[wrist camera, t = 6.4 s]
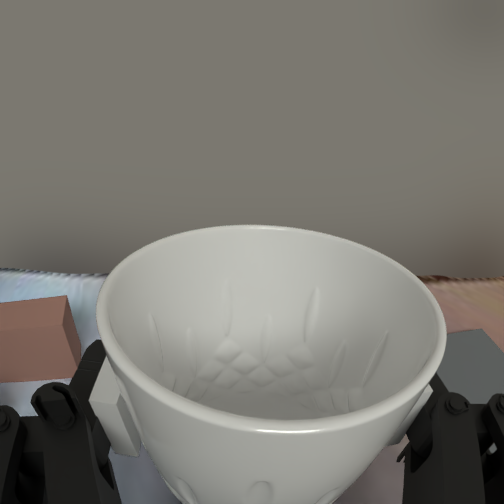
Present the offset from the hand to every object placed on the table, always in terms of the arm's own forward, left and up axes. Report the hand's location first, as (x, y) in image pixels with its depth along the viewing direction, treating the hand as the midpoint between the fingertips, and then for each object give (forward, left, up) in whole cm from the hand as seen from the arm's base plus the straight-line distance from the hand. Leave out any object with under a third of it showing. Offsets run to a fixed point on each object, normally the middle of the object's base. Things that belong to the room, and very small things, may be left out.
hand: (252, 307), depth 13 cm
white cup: (0, -5, -6) cm, 8 cm away
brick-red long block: (-13, +1, -6) cm, 14 cm away
